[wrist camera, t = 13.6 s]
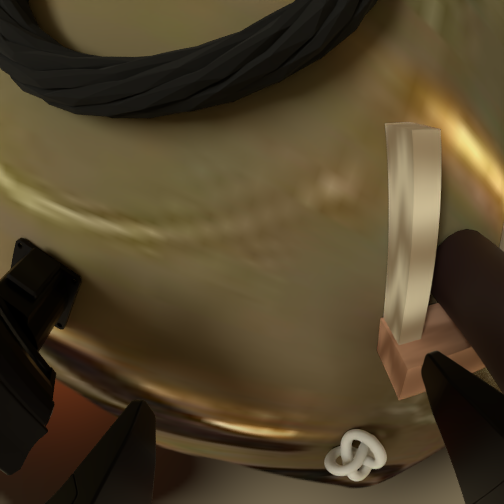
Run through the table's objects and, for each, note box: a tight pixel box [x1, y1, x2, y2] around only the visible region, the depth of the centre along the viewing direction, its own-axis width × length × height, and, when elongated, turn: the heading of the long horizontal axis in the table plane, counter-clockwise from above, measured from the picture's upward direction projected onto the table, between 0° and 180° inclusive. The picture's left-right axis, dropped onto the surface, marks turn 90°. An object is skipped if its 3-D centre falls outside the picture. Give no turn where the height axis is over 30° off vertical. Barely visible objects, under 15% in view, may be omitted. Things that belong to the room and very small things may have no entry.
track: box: [377, 122, 504, 400], centre depth 19 cm, size 20×15×6 cm
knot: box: [325, 429, 387, 481], centre depth 32 cm, size 8×8×6 cm
